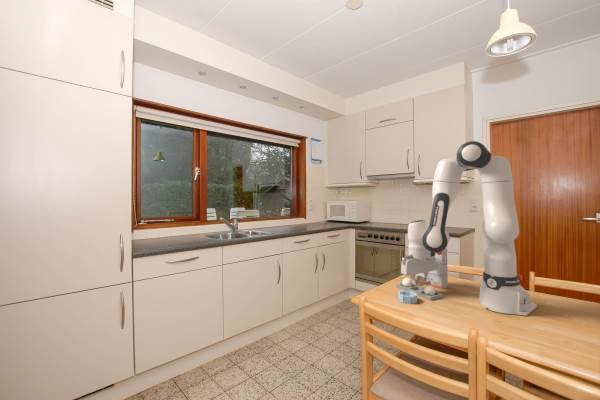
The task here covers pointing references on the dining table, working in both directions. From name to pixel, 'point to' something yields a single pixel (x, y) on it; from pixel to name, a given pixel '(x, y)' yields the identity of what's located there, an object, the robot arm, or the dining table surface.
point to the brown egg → (420, 281)
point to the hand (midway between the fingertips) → (419, 282)
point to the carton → (420, 291)
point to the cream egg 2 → (429, 290)
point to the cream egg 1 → (407, 282)
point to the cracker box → (438, 272)
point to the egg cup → (407, 297)
